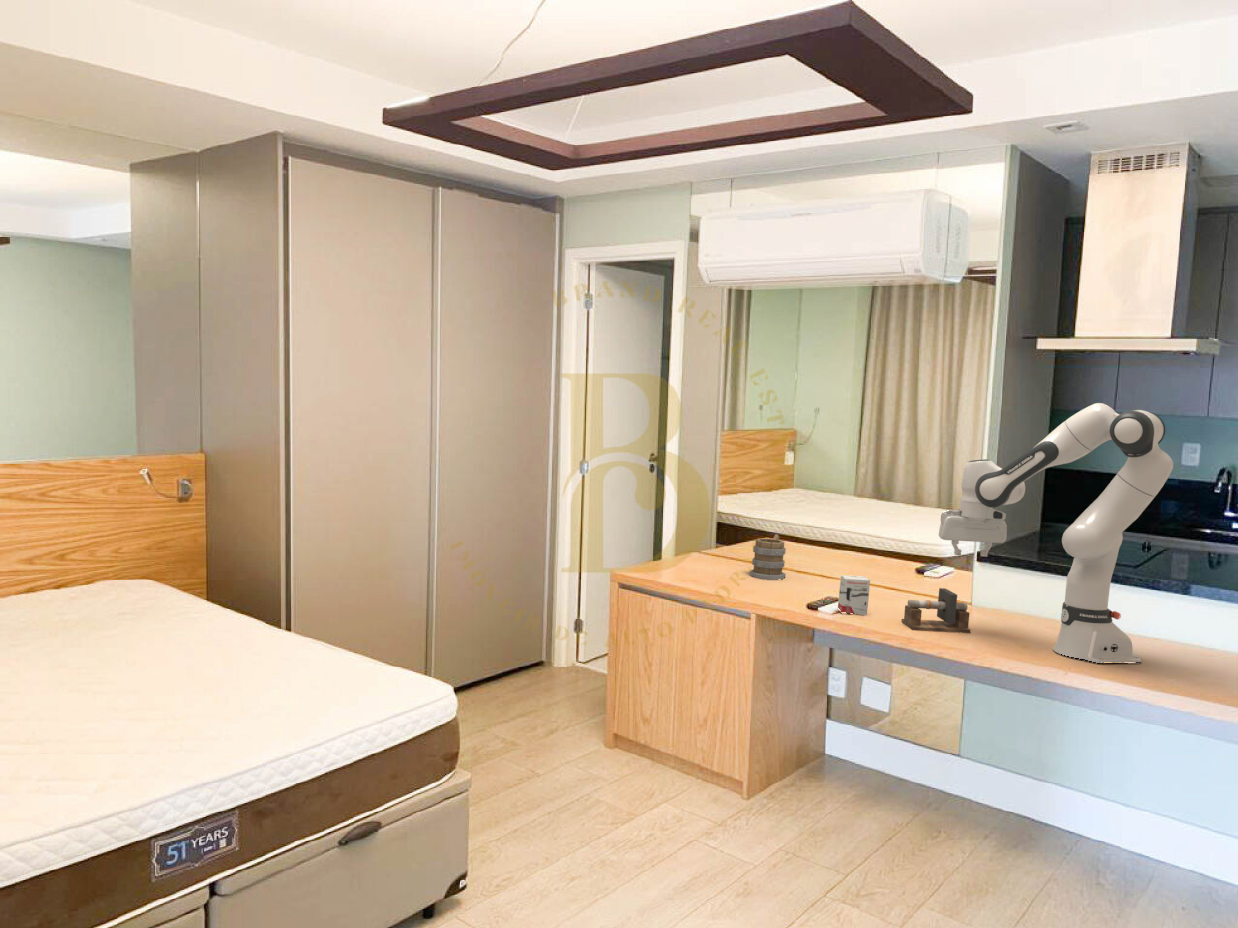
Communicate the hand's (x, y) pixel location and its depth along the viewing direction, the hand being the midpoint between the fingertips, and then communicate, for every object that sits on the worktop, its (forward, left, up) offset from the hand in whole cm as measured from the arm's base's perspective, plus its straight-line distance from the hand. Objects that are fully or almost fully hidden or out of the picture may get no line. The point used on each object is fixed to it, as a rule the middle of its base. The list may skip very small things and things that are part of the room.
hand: (970, 555), depth 285 cm
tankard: (+46, -71, -23) cm, 88 cm away
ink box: (+31, -14, -23) cm, 41 cm away
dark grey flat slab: (+6, 0, -21) cm, 21 cm away
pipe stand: (+9, 0, -23) cm, 25 cm away
